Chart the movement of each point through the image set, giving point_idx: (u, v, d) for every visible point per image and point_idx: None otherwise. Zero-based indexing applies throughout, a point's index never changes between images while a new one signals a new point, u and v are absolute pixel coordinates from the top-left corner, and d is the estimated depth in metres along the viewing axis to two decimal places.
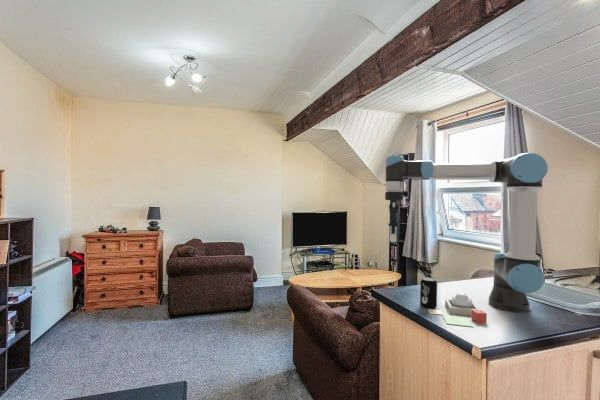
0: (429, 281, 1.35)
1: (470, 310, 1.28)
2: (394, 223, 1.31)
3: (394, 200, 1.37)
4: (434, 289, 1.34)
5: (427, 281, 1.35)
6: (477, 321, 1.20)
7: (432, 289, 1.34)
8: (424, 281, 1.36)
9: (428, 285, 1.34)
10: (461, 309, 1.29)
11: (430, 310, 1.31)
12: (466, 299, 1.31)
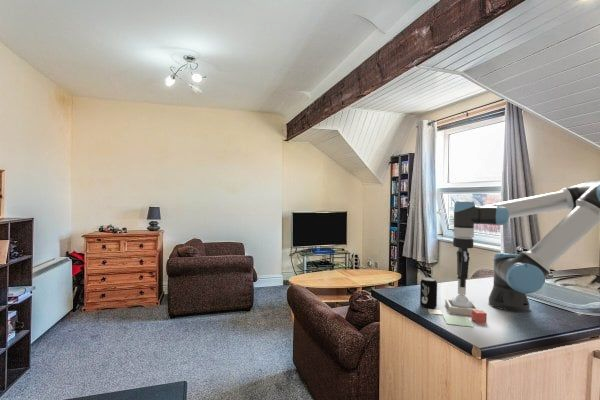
0: (429, 281, 1.35)
1: (470, 310, 1.28)
2: (465, 277, 1.30)
3: (465, 248, 1.30)
4: (434, 289, 1.34)
5: (427, 281, 1.35)
6: (477, 321, 1.20)
7: (432, 289, 1.34)
8: (424, 281, 1.36)
9: (428, 285, 1.34)
10: (461, 309, 1.29)
11: (430, 310, 1.31)
12: (466, 301, 1.31)
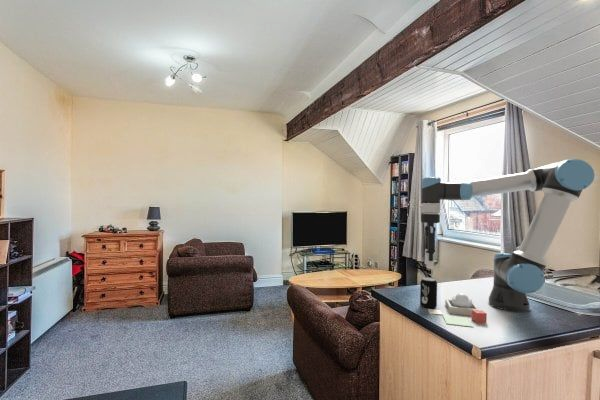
0: (429, 281, 1.35)
1: (470, 310, 1.28)
2: (432, 250, 1.30)
3: (431, 223, 1.34)
4: (434, 289, 1.34)
5: (427, 281, 1.35)
6: (477, 321, 1.20)
7: (432, 289, 1.34)
8: (424, 281, 1.36)
9: (428, 285, 1.34)
10: (461, 309, 1.29)
11: (430, 310, 1.31)
12: (466, 299, 1.31)
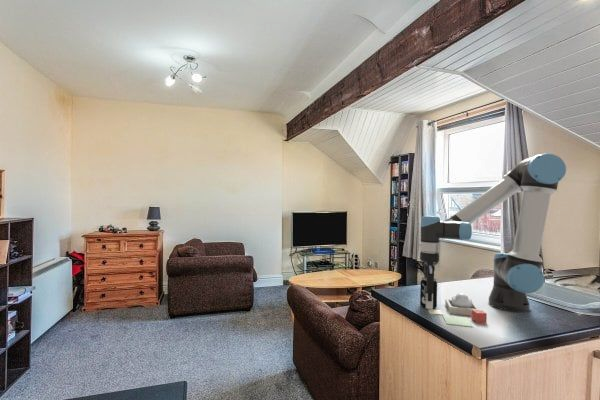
0: None
1: (470, 310, 1.28)
2: (431, 291, 1.30)
3: (430, 262, 1.33)
4: (434, 289, 1.34)
5: None
6: (477, 321, 1.20)
7: None
8: (424, 281, 1.35)
9: None
10: (461, 309, 1.29)
11: (430, 310, 1.31)
12: (466, 299, 1.31)
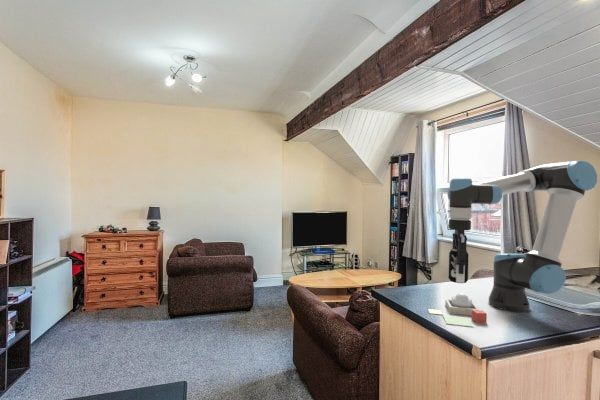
0: None
1: (470, 310, 1.28)
2: (463, 262, 1.15)
3: (462, 230, 1.18)
4: None
5: None
6: (477, 321, 1.20)
7: None
8: (454, 252, 1.20)
9: None
10: (461, 309, 1.29)
11: (430, 310, 1.31)
12: (466, 299, 1.31)
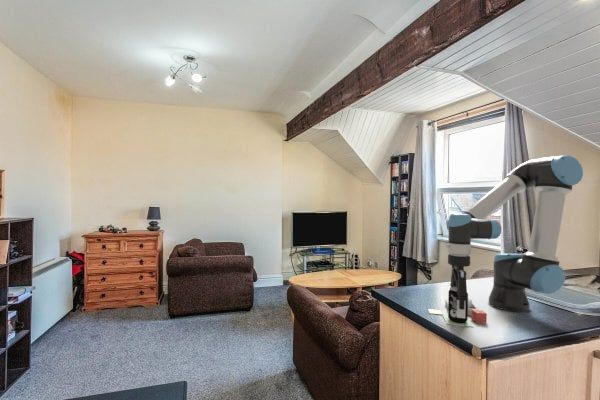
0: None
1: (470, 310, 1.28)
2: (464, 298, 1.12)
3: (461, 267, 1.18)
4: None
5: (456, 292, 1.19)
6: (477, 321, 1.20)
7: None
8: (453, 292, 1.19)
9: None
10: None
11: (430, 310, 1.31)
12: None
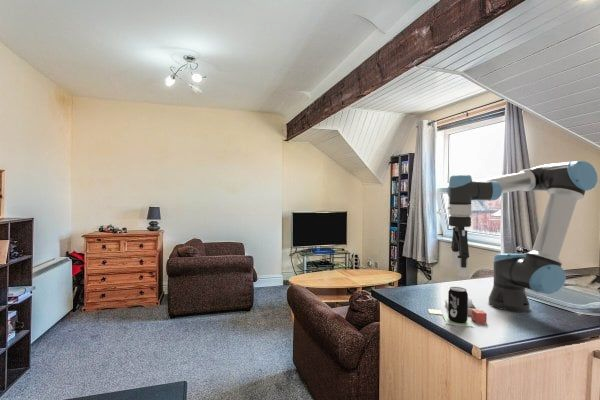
0: (459, 291, 1.19)
1: (470, 310, 1.28)
2: (466, 256, 1.12)
3: (462, 227, 1.18)
4: (465, 301, 1.18)
5: (456, 291, 1.19)
6: (477, 321, 1.20)
7: (462, 301, 1.18)
8: (453, 291, 1.20)
9: (458, 296, 1.18)
10: None
11: (430, 310, 1.31)
12: None
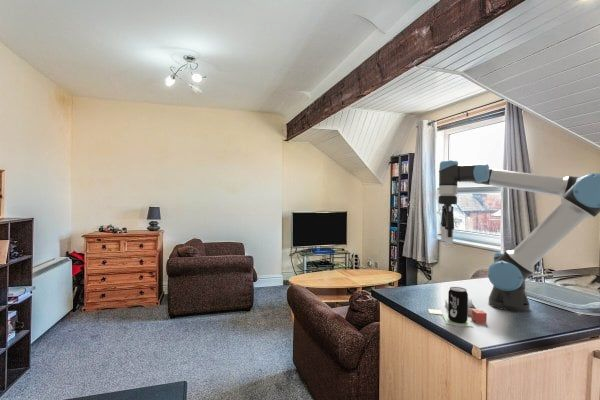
0: (459, 292, 1.18)
1: (470, 310, 1.28)
2: (452, 227, 1.34)
3: (449, 204, 1.40)
4: (464, 301, 1.18)
5: (456, 292, 1.19)
6: (477, 321, 1.20)
7: (462, 301, 1.18)
8: (453, 292, 1.20)
9: (457, 296, 1.18)
10: None
11: (430, 310, 1.31)
12: None
